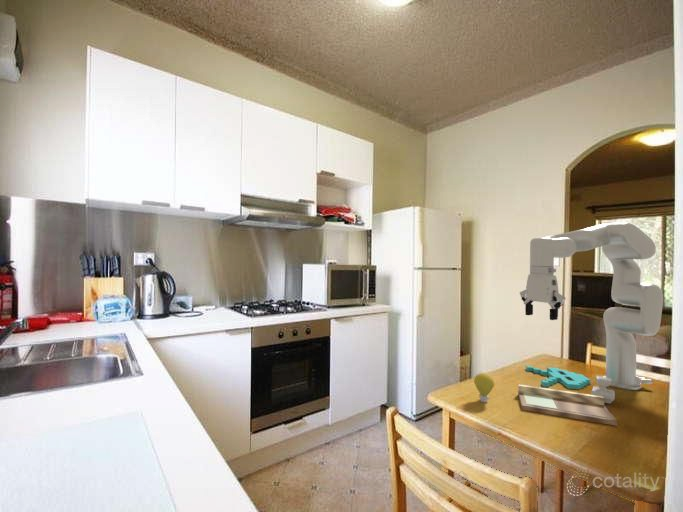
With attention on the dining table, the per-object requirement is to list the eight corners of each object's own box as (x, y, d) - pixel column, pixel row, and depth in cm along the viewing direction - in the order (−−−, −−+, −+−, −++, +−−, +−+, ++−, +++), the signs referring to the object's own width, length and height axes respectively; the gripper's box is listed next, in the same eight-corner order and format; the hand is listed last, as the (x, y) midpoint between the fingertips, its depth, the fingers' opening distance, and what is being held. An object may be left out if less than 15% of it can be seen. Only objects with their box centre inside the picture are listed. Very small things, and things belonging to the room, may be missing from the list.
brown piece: (602, 407, 114) (602, 396, 114) (617, 425, 102) (617, 412, 102) (518, 394, 124) (518, 384, 124) (522, 409, 112) (522, 398, 112)
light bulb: (486, 406, 114) (486, 378, 114) (469, 399, 120) (470, 372, 120) (498, 402, 118) (498, 374, 118) (481, 395, 123) (481, 368, 123)
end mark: (551, 397, 118) (551, 397, 118) (557, 409, 110) (557, 408, 110) (523, 393, 122) (523, 392, 122) (526, 404, 113) (526, 403, 113)
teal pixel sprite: (543, 387, 132) (599, 392, 128) (543, 382, 132) (599, 386, 128) (525, 370, 152) (574, 373, 148) (525, 365, 152) (574, 369, 148)
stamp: (592, 394, 125) (592, 372, 125) (614, 399, 121) (615, 376, 121) (590, 402, 118) (590, 379, 118) (614, 408, 114) (614, 383, 114)
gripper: (572, 272, 115) (571, 321, 115) (527, 269, 131) (527, 312, 131) (557, 272, 112) (556, 322, 112) (514, 270, 128) (513, 313, 128)
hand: (540, 317), depth 121 cm, fingers open, 9 cm apart
